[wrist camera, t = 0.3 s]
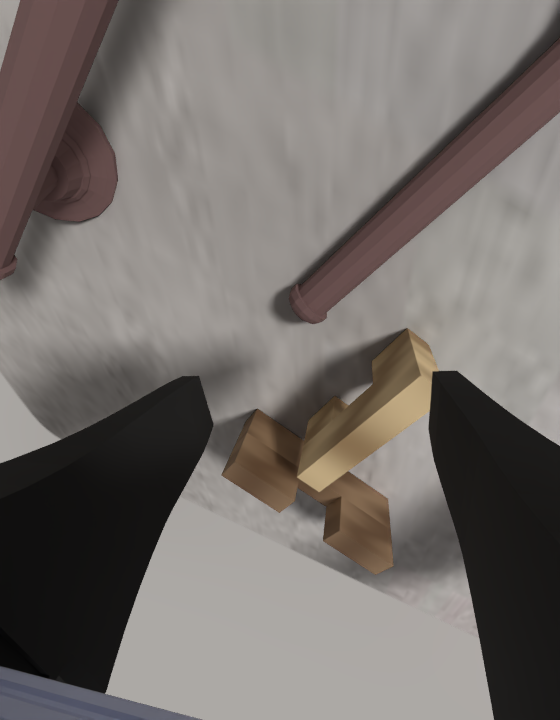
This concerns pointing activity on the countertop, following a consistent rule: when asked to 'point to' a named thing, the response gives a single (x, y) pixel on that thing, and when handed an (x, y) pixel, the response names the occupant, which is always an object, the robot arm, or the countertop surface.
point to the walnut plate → (312, 492)
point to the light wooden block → (369, 412)
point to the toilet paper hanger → (98, 162)
